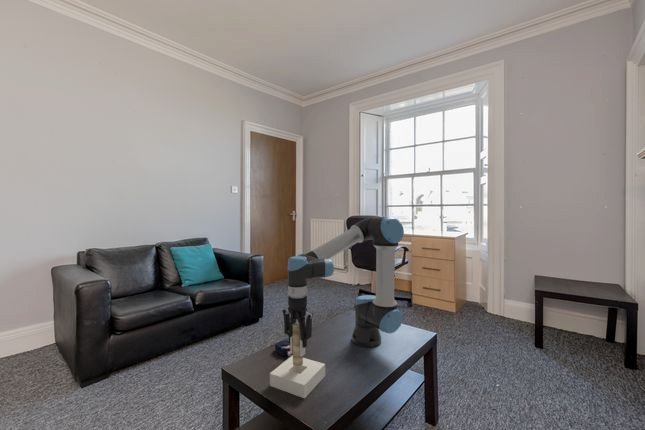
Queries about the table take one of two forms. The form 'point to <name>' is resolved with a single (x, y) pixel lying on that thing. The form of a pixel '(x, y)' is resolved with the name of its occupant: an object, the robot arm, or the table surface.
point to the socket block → (297, 376)
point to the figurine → (283, 348)
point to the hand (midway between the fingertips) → (297, 353)
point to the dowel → (297, 345)
